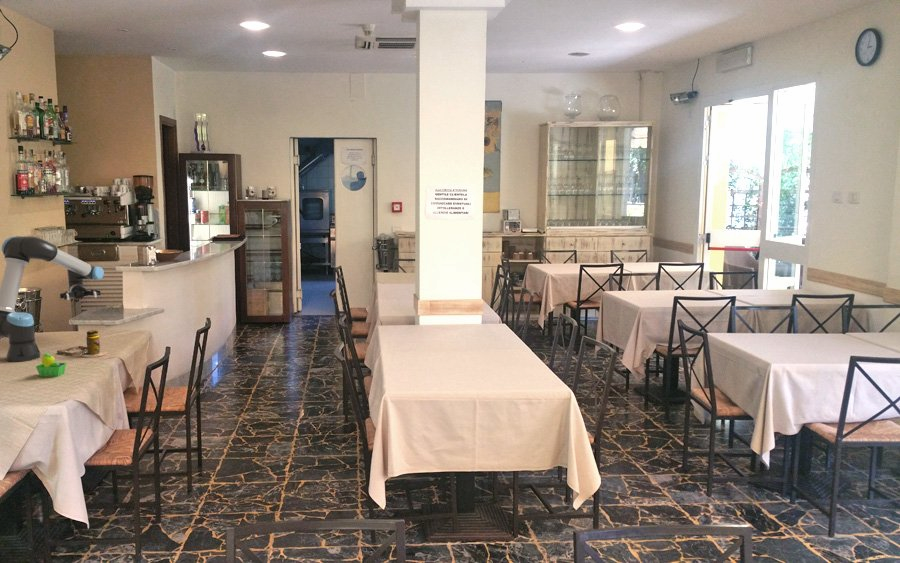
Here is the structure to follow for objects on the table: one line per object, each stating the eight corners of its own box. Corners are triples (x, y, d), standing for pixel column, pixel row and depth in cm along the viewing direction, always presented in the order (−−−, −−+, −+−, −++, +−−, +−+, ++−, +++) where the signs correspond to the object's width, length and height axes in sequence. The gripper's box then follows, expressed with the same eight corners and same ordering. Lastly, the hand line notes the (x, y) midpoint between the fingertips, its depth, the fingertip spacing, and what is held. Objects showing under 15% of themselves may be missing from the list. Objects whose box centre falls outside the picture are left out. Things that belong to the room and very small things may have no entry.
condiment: (102, 353, 391) (100, 331, 390) (85, 356, 386) (83, 333, 384) (98, 351, 397) (96, 329, 395) (81, 353, 392) (79, 331, 390)
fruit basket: (68, 373, 356) (66, 350, 355) (57, 378, 348) (55, 354, 346) (45, 373, 357) (43, 349, 355) (34, 378, 348) (31, 354, 347)
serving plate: (91, 358, 384) (91, 357, 384) (76, 356, 390) (76, 354, 390) (111, 353, 395) (111, 352, 394) (96, 351, 400) (96, 350, 400)
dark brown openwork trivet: (71, 356, 391) (71, 353, 390) (57, 353, 396) (56, 350, 396) (94, 350, 402) (94, 347, 402) (79, 348, 408) (79, 345, 408)
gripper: (102, 295, 433) (107, 300, 416) (54, 300, 421) (57, 305, 403) (101, 283, 432) (106, 287, 415) (52, 286, 420) (55, 291, 402)
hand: (82, 296), depth 409 cm, fingers open, 13 cm apart
